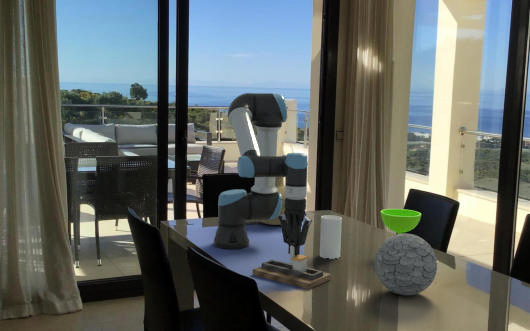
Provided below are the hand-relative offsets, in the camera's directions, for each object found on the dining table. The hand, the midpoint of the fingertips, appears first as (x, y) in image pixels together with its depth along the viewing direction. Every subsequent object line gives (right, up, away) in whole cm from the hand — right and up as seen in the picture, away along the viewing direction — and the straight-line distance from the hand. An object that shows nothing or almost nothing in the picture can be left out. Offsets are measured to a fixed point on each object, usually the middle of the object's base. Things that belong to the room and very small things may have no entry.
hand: (293, 263), depth 205 cm
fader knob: (+2, -3, -1) cm, 4 cm away
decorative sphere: (+36, -8, -14) cm, 39 cm away
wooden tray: (-1, -5, +1) cm, 5 cm away
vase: (-5, +5, +87) cm, 87 cm away
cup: (+16, -2, +30) cm, 34 cm away
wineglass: (+44, -3, +32) cm, 55 cm away
